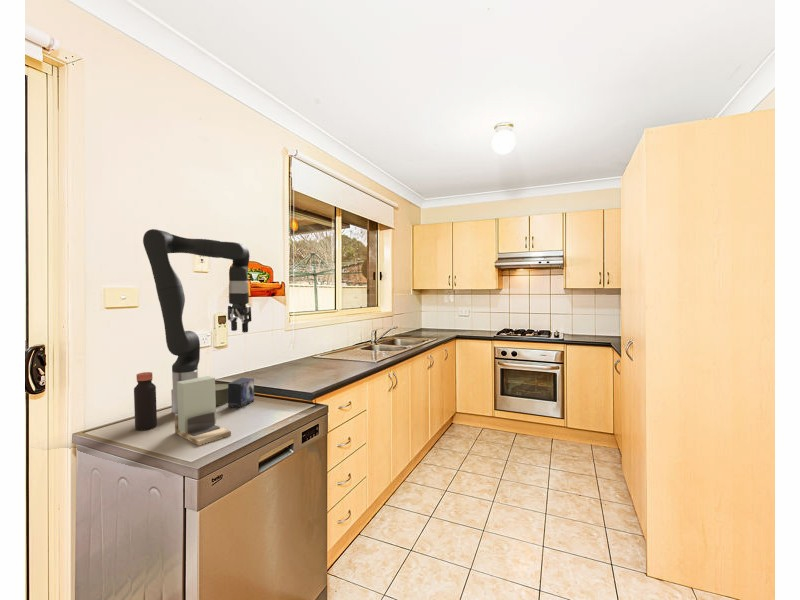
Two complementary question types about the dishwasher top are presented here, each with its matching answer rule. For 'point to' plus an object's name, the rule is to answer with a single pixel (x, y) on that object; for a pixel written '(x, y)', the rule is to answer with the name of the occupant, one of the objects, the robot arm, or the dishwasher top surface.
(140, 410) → the bottle
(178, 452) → the dishwasher top surface
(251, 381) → the small box
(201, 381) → the book
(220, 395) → the can
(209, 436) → the rack
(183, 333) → the robot arm
